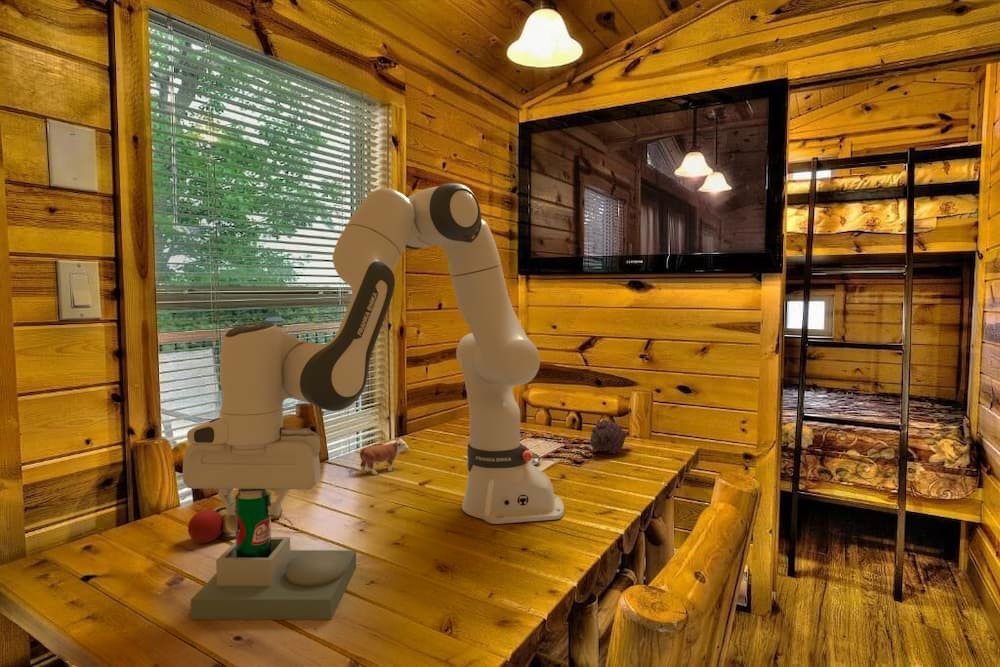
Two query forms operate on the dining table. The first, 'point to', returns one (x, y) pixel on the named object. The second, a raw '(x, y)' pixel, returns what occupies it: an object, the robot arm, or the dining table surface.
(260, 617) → the grey desk organizer tray
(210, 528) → the kendama
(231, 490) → the robot arm
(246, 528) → the soda can
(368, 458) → the bull figurine
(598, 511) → the dining table surface
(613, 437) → the pine cone
